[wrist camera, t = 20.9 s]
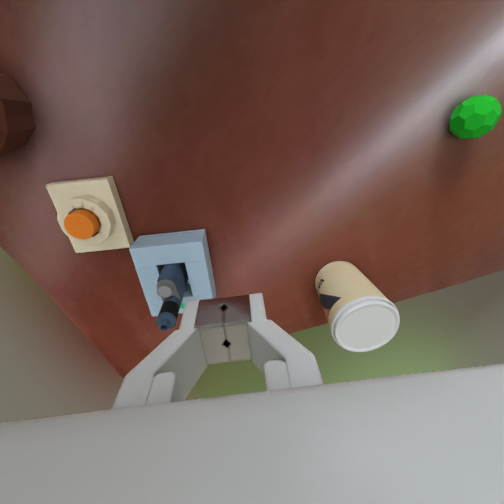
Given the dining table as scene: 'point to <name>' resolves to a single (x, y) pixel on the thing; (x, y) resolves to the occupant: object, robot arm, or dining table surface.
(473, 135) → the polyhedron
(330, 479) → the robot arm
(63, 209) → the button box
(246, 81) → the dining table surface
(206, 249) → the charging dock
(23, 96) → the muffin
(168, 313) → the vaping device
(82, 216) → the orange button
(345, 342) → the coffee cup
